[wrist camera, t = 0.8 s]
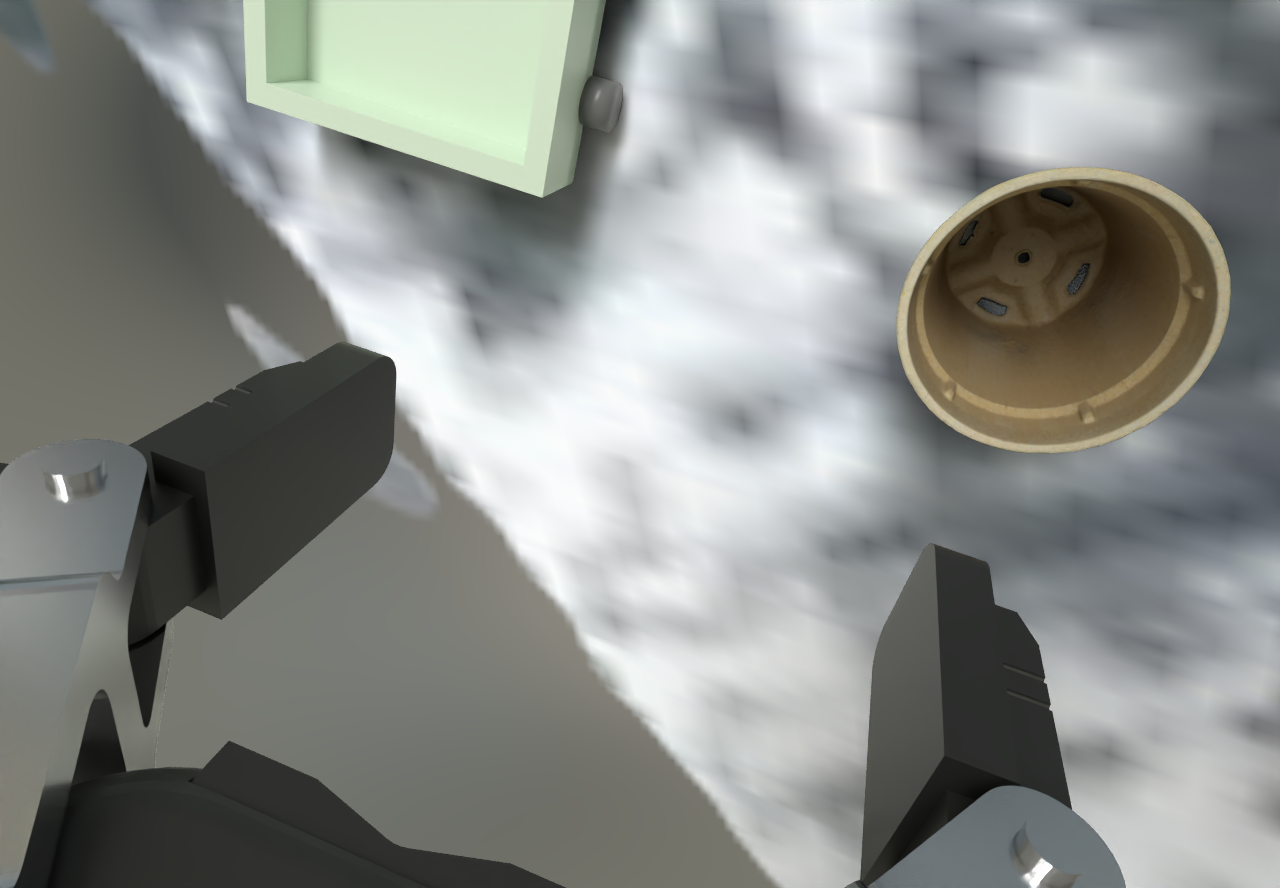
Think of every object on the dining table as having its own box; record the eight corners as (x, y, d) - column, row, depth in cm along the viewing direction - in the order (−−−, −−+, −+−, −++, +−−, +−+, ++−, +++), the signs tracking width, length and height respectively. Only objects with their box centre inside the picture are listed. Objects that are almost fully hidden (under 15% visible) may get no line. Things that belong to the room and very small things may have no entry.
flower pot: (893, 360, 36) (890, 448, 28) (904, 140, 31) (903, 177, 24) (1129, 363, 33) (1192, 462, 26) (1176, 122, 29) (1268, 158, 21)
